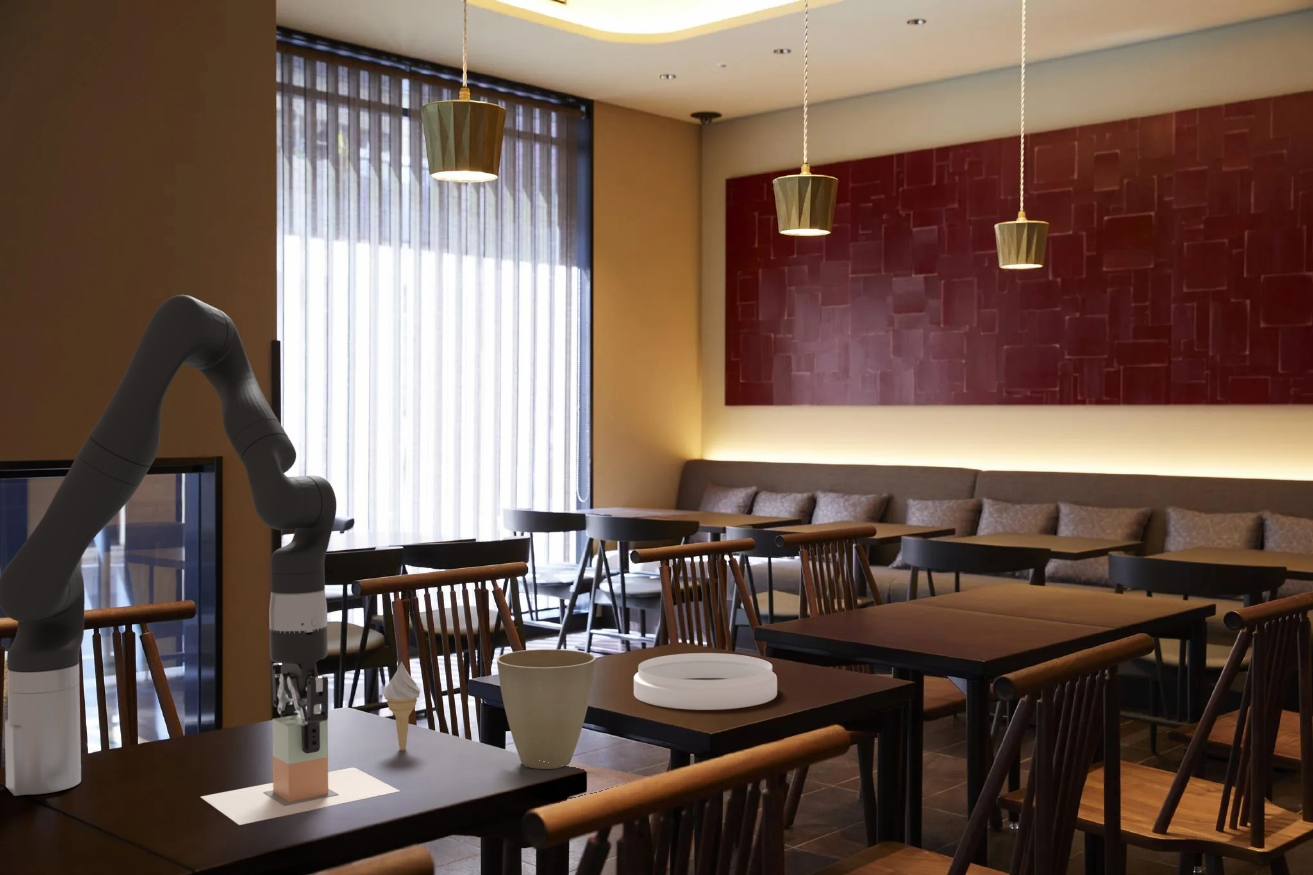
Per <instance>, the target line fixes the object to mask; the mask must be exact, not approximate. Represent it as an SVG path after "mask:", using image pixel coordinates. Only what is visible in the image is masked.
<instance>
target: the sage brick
mask: <svg viewBox="0 0 1313 875" xmlns="http://www.w3.org/2000/svg"><path fill="white" fill-rule="evenodd" d="M328 720H329V719H328ZM328 720H327V721H322V723H320V749H319V751H318V752H313V753H304V752H303V751H302V725H303V724H302V721H301V717H300V714H298V715H294V716H287V717H281V718H280V717H276V718H272V757H273V756H275V757H276V758H278V759H280V760H282V761H283V762H285V763H287V764H293V763H298V762H304V761H309V760H315V759H320V758H325V757H328V758H329V737H328V736H329V731H328V730H329V729H328V727H329V726H328V724H329V723H328V722H329V721H328Z"/></svg>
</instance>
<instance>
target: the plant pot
mask: <svg viewBox="0 0 1313 875" xmlns="http://www.w3.org/2000/svg"><path fill="white" fill-rule="evenodd" d="M596 660H597V658H596V656H595V655H594V654H591V653H590V652H584V651H580V650H572V649H571V650H570V649H559V648H558V649H555V648H554V649H553V648H545V649H544V648H543V649H542V648H541V649H540V648H539V649H526V650H518V651H517V650H515V651H512V652H511V651H510V652H507V653H504V654H502V655H500V656H498V657H497V658H496V664H497V674H498V679H499V685H500V686H499V687H500V692H501V697H502V701H503V706H504V710H505V715H506V720H507V723H508V727H509V730H510V733H511V737H512V740H513V743H514V746H515V748H516V751H517V754H518V756H519V760H520V763H521V765H523V766H524V767H527V768H530V769H536V770H551V769H560V768H562V767H563V766H562V765H565V766H564V767H566V766H569V765H570V763H571V762H572V760H573V757H574V753H575V750H576V748H577V746H578V743H579V739H580V736H581V733H582V729H583V725H584V722H585V718H586V715H587V712H588V711H587V710H588V708H589V701H590V697H591V692H592V686H593V680H594V674H595V668H596ZM539 760H540V761H539ZM543 761H545V762H543ZM548 762H549V763H548Z"/></svg>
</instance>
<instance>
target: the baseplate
mask: <svg viewBox="0 0 1313 875" xmlns="http://www.w3.org/2000/svg"><path fill="white" fill-rule="evenodd" d="M398 792H399V793H400V792H401V790H400V789H397V788H395V787H394V786H391V785H389V784H387V783H386V782H383V781H382V780H380V779H377V778H375V777H374V776H372V775H370V774H368V773H366V772H364V771H361V770H360V769H358V768H356V767H348V768H343V769H337V770H332V771H328V794H325V795H320V796H315V797H310V798H305V799H300V800H295V801H291V802H288V801H287V800H285V799H283V798H282V797H280V796H279V795H277V794H275V793H274V792H273V782H270V783H269V782H268V783H265V784H259V785H254V786H248V787H244V788H239V789H234V790H228V791H223V792H217V793H213V794H207V795H203V796H200V798H201V799H202V800H204V801H205V802H207V803H208V804H209V805H211V806H212V807H213V808H214V809H216V810H218V811H219V812H220V813H221V814H223V815H224V816H226V817H227V818H229V819H230V820H231V821H232V822H234V823H235V824H237V825H238V826H242V825H246V824H251V823H256V822H261V821H265V820H271V819H275V818H280V817H286V816H289V815H294V814H299V813H303V812H308V811H314V810H318V809H325V808H327V807H333V806H337V805H338V806H339V805H341V804H342V805H343V804H347V803H353V802H356V801H360V800H361V801H362V800H365V799H371V798H375V797H380V796H385V795H391V794H394V793H398Z"/></svg>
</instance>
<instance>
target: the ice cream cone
mask: <svg viewBox="0 0 1313 875" xmlns="http://www.w3.org/2000/svg"><path fill="white" fill-rule="evenodd" d="M412 677H413V676H411V675H410V673H409V671H407V669H406V668H405V665H404V663H403V661H401V662H400V664H399V665H398V668H397V670H396V672H395V673H394V674H393V676H392V678H391V679H390V680H389V683H388V684H387V686H386V687H385V688H384V690H383V697H384V700H386V703H387V706H388V710H390V711H391V712H392V713H393V715H394V716H395V722H396V723H395V724H396V732H397V740H398V747H399V751H406V750H407V741H408V733H409V732H408V731H409V716H410V715H411V713H412V711H413V710H414V709H416V705H417V701H418V698H419V697H420V694H421V688H419V687H418V685H417V683H416V681H414V679H413V678H412Z"/></svg>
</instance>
